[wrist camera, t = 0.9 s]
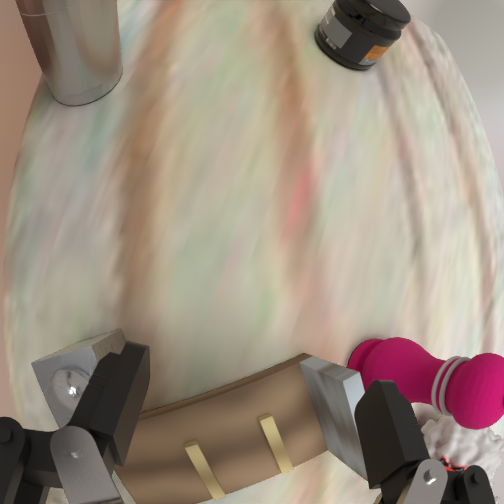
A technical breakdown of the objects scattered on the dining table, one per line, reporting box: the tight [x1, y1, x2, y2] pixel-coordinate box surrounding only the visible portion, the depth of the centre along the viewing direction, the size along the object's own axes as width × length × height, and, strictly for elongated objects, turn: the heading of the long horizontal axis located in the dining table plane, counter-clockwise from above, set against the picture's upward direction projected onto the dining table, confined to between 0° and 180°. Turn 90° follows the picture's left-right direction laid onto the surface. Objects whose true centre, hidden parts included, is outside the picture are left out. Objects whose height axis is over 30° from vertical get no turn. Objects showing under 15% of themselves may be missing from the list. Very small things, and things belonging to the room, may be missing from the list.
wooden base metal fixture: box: [114, 353, 368, 504], centre depth 21 cm, size 11×22×10 cm, turn 111°
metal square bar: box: [31, 329, 126, 428], centre depth 19 cm, size 4×4×12 cm
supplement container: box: [316, 0, 411, 69], centre depth 33 cm, size 10×10×12 cm
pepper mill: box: [348, 337, 504, 430], centre depth 22 cm, size 7×7×20 cm
